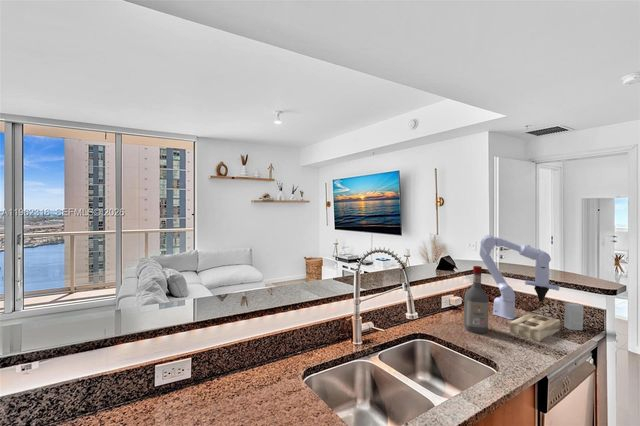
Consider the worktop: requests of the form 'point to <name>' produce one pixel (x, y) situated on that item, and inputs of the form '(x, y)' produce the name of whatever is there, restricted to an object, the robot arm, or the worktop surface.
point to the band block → (535, 327)
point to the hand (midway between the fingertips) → (541, 301)
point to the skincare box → (573, 316)
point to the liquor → (476, 305)
